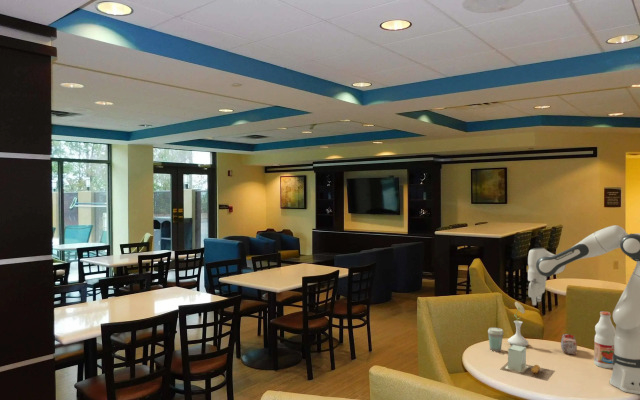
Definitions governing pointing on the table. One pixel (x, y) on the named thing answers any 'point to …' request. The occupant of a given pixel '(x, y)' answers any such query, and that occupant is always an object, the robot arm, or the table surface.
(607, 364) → the fruit juice
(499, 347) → the coffee cup
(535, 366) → the amber marble
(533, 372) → the amber marble
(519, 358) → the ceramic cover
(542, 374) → the walnut board
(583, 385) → the table surface
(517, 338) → the flower in vase
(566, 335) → the food item
